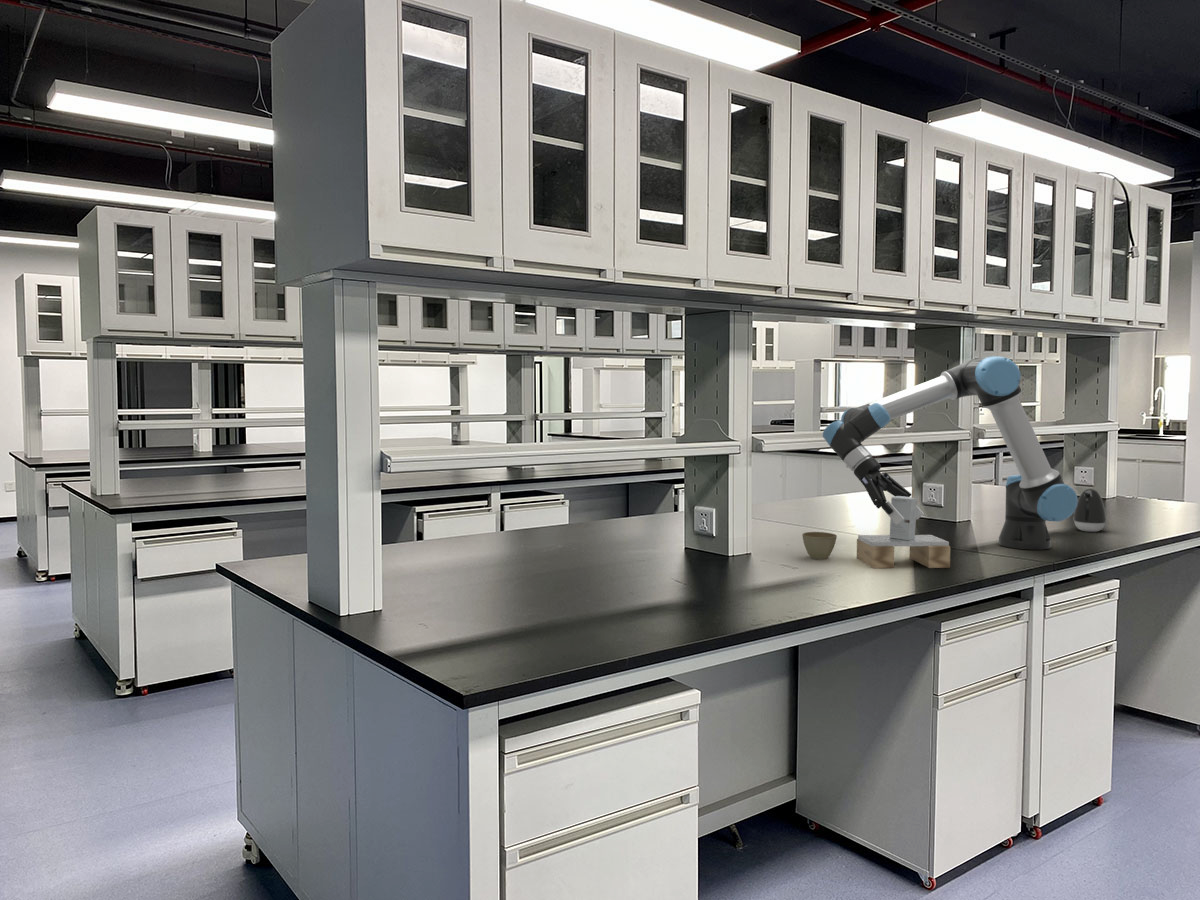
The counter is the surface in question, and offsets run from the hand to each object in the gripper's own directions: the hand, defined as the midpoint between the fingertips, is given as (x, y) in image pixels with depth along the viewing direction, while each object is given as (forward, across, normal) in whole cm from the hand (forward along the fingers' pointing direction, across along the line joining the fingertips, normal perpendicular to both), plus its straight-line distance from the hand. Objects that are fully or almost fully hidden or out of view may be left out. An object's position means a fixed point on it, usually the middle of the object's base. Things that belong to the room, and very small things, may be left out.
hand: (910, 519), depth 239 cm
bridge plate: (+3, 0, -7) cm, 7 cm away
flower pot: (-7, +10, -26) cm, 29 cm away
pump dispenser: (+25, -102, +6) cm, 105 cm away
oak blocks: (+8, 0, -11) cm, 13 cm away
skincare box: (+3, 0, -6) cm, 6 cm away
